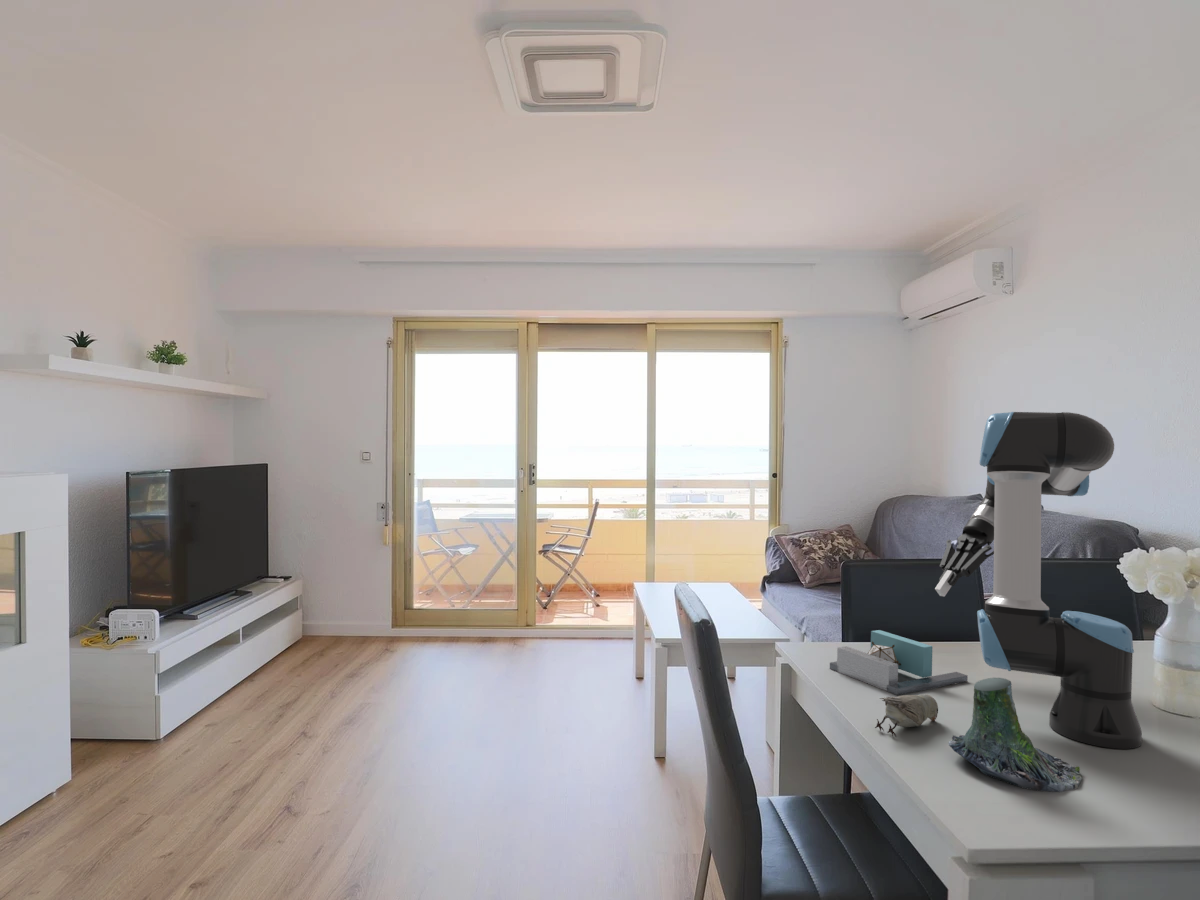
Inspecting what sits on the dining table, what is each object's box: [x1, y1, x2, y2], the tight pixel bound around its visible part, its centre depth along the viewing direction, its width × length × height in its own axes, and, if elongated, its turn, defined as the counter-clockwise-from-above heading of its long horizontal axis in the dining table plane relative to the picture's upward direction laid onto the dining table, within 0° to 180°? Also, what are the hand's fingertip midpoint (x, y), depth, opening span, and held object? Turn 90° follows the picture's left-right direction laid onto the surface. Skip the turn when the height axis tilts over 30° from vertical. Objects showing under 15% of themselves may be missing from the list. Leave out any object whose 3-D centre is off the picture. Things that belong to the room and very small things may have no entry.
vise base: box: [829, 646, 968, 696], centre depth 176 cm, size 21×24×6 cm
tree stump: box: [947, 677, 1083, 793], centre depth 125 cm, size 18×20×18 cm
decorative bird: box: [874, 693, 939, 737], centre depth 142 cm, size 5×16×7 cm, turn 120°
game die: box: [866, 642, 901, 665], centre depth 174 cm, size 9×8×10 cm
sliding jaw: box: [870, 629, 933, 678], centre depth 176 cm, size 16×3×7 cm, turn 26°
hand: (939, 592), depth 182 cm, fingers closed
